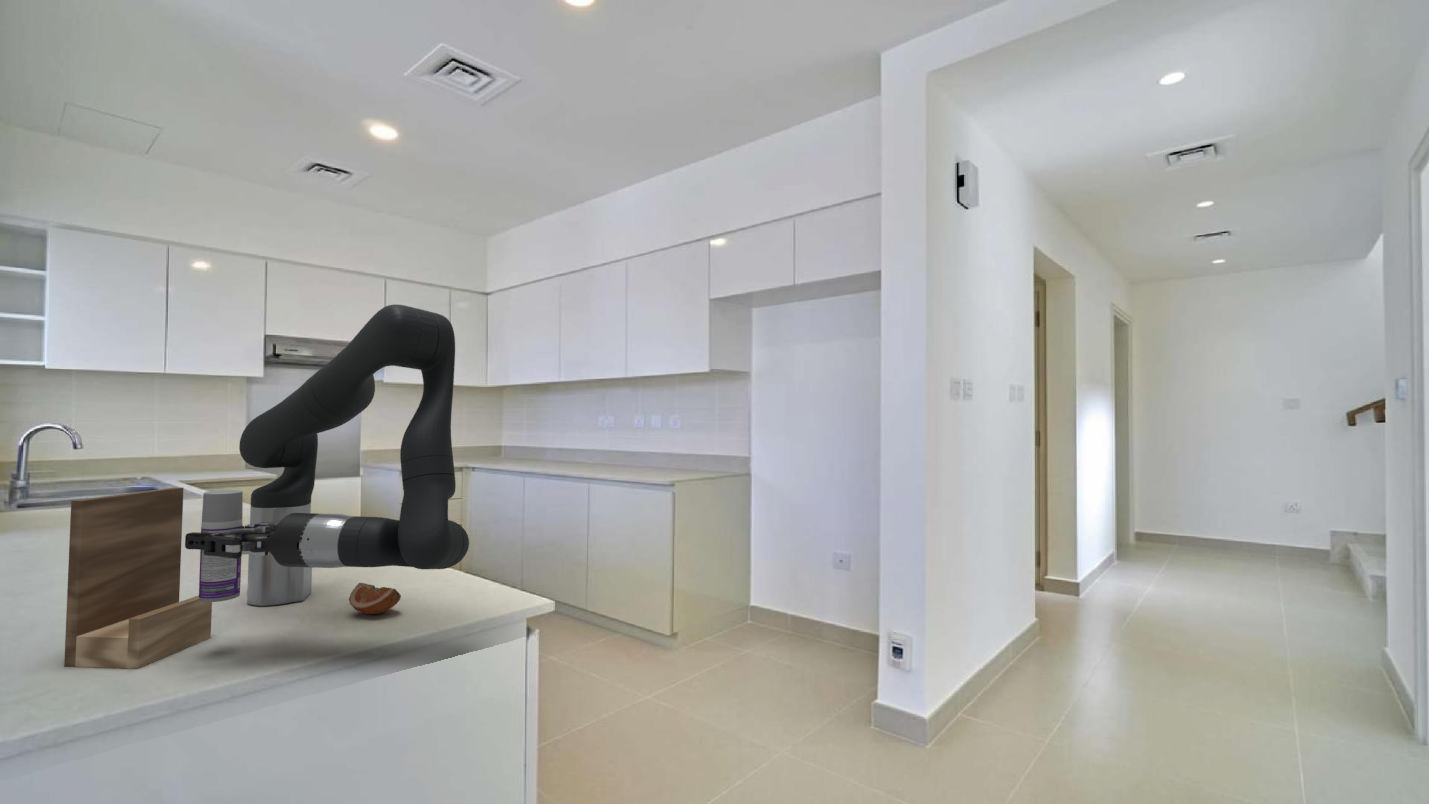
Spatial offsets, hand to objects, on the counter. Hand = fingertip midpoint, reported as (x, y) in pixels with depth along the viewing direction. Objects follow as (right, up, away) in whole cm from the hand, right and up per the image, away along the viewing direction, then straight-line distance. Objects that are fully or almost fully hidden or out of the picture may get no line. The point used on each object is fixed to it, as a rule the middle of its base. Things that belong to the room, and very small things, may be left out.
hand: (203, 536), depth 91 cm
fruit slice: (+15, -17, +18) cm, 29 cm away
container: (+2, -9, 0) cm, 9 cm away
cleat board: (-8, -16, +2) cm, 18 cm away
